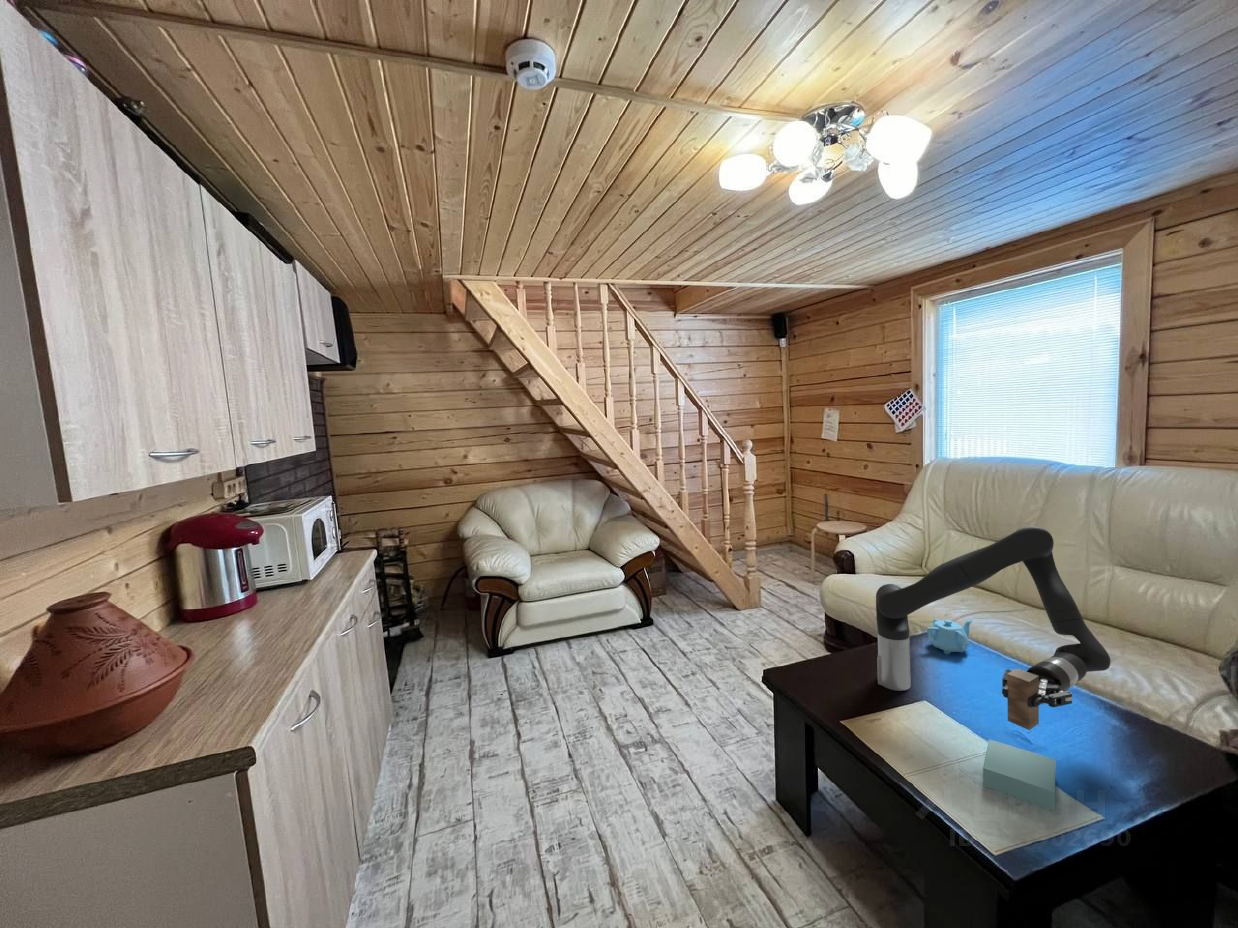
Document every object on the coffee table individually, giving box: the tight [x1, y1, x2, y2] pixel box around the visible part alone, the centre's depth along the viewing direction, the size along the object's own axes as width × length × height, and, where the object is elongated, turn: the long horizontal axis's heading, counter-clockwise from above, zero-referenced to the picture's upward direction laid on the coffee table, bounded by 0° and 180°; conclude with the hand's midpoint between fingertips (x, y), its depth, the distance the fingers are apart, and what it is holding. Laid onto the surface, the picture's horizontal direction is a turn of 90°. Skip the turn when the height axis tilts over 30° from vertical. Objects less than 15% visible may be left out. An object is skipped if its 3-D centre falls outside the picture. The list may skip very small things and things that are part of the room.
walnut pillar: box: [1007, 668, 1040, 731], centre depth 119 cm, size 4×4×12 cm
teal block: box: [982, 739, 1056, 812], centre depth 120 cm, size 13×13×5 cm
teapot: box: [926, 618, 974, 655], centre depth 185 cm, size 13×14×11 cm
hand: (1017, 698), depth 117 cm, fingers closed on walnut pillar, 4 cm apart
